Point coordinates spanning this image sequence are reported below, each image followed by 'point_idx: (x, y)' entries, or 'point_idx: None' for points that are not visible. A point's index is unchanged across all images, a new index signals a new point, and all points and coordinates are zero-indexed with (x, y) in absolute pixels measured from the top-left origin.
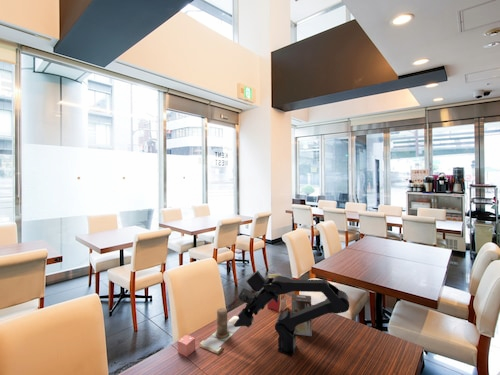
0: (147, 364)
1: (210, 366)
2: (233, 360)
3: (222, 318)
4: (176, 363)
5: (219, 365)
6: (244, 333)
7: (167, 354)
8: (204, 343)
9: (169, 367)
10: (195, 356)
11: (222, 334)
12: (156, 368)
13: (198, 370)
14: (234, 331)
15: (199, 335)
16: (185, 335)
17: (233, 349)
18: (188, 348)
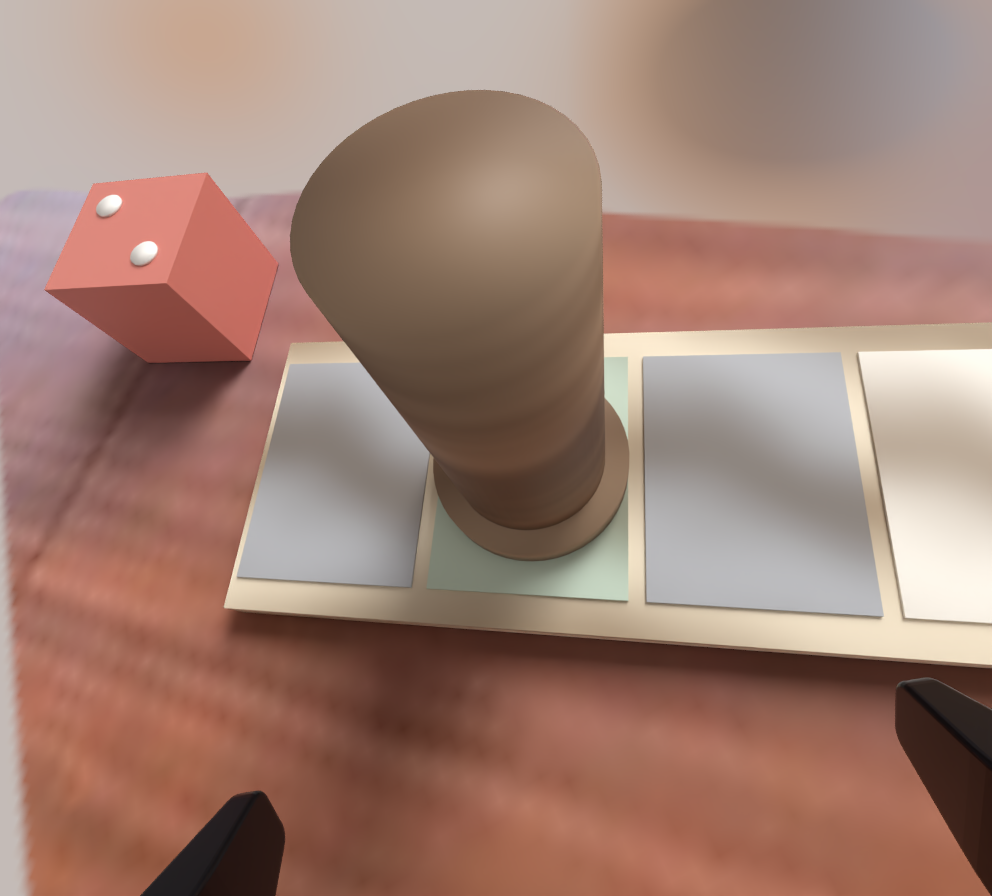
0: (38, 202)
1: (64, 646)
2: None
3: (368, 372)
4: (67, 348)
5: (88, 736)
6: (799, 738)
7: None
8: (302, 388)
9: (23, 336)
10: (168, 423)
11: (461, 494)
12: (7, 272)
13: (7, 567)
14: (688, 586)
15: None
16: (187, 179)
17: (381, 758)
18: (116, 324)
